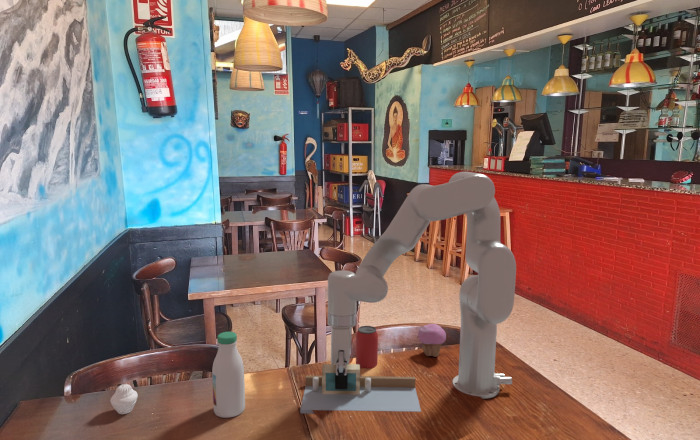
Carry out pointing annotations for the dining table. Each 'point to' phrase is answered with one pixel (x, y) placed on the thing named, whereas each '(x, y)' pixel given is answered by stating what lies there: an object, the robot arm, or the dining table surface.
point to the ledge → (363, 395)
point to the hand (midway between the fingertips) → (341, 379)
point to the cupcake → (431, 339)
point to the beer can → (367, 347)
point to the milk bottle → (228, 378)
